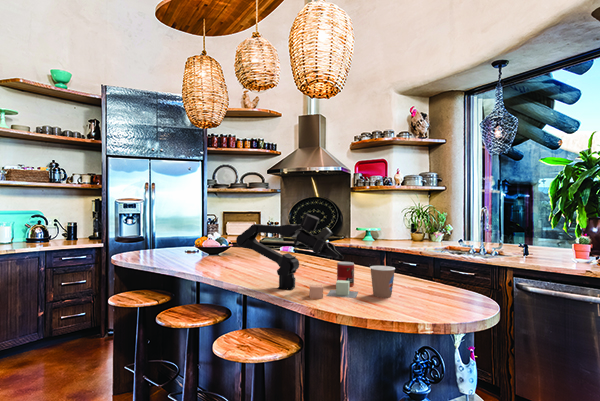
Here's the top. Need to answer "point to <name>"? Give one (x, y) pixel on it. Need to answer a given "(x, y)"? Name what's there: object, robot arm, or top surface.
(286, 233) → the robot arm
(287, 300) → the top surface
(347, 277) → the canned food
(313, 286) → the pinkish brown cube
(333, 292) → the baseplate
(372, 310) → the top surface
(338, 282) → the brick green
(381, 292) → the coffee cup
